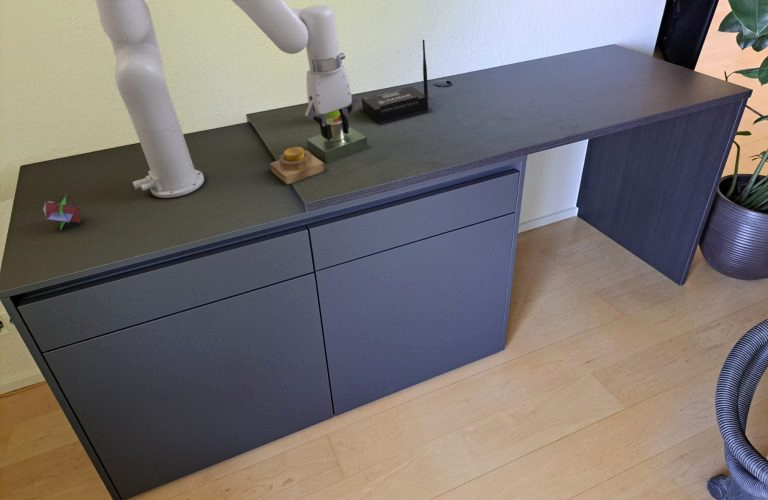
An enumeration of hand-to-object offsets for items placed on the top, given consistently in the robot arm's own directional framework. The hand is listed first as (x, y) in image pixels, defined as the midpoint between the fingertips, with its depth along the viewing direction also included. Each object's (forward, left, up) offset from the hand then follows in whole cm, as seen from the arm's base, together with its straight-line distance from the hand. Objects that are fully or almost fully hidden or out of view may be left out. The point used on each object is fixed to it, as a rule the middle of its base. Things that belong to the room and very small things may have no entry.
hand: (335, 134), depth 141 cm
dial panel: (0, 0, -4) cm, 4 cm away
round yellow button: (-14, -4, 0) cm, 14 cm away
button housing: (-14, -4, -4) cm, 15 cm away
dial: (0, 0, -1) cm, 1 cm away
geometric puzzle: (-64, +9, -4) cm, 65 cm away
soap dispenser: (+9, +18, -4) cm, 21 cm away
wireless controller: (+27, +10, -4) cm, 29 cm away
